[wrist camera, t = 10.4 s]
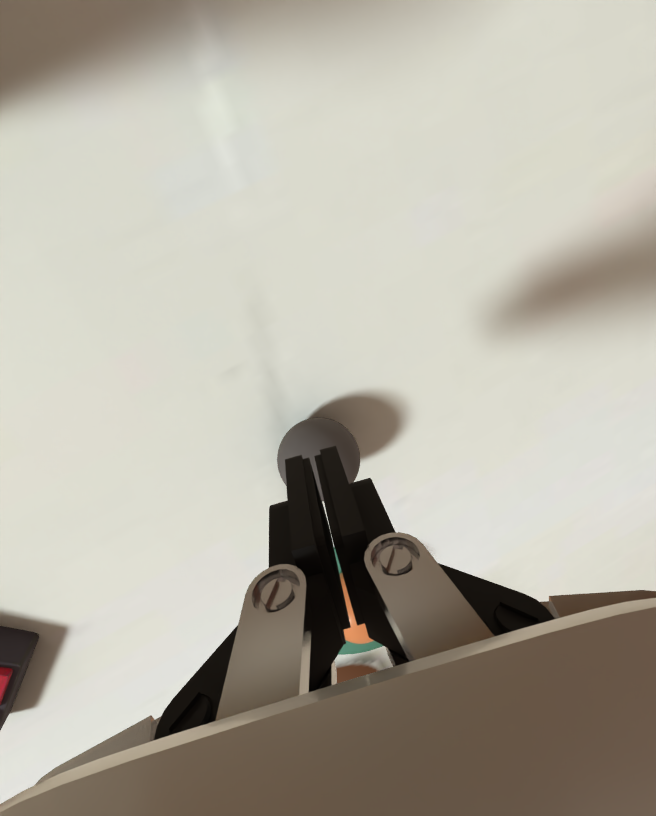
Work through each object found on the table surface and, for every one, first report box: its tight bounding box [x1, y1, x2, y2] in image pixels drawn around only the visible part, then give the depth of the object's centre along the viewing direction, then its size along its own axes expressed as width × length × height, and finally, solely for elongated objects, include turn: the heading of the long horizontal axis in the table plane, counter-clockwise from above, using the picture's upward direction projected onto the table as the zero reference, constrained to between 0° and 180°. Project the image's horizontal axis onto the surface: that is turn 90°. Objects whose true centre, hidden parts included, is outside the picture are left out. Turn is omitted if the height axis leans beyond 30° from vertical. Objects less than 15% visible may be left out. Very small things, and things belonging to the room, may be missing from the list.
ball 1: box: [277, 418, 360, 501], centre depth 24 cm, size 6×6×6 cm
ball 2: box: [340, 573, 374, 644], centre depth 30 cm, size 6×6×6 cm
